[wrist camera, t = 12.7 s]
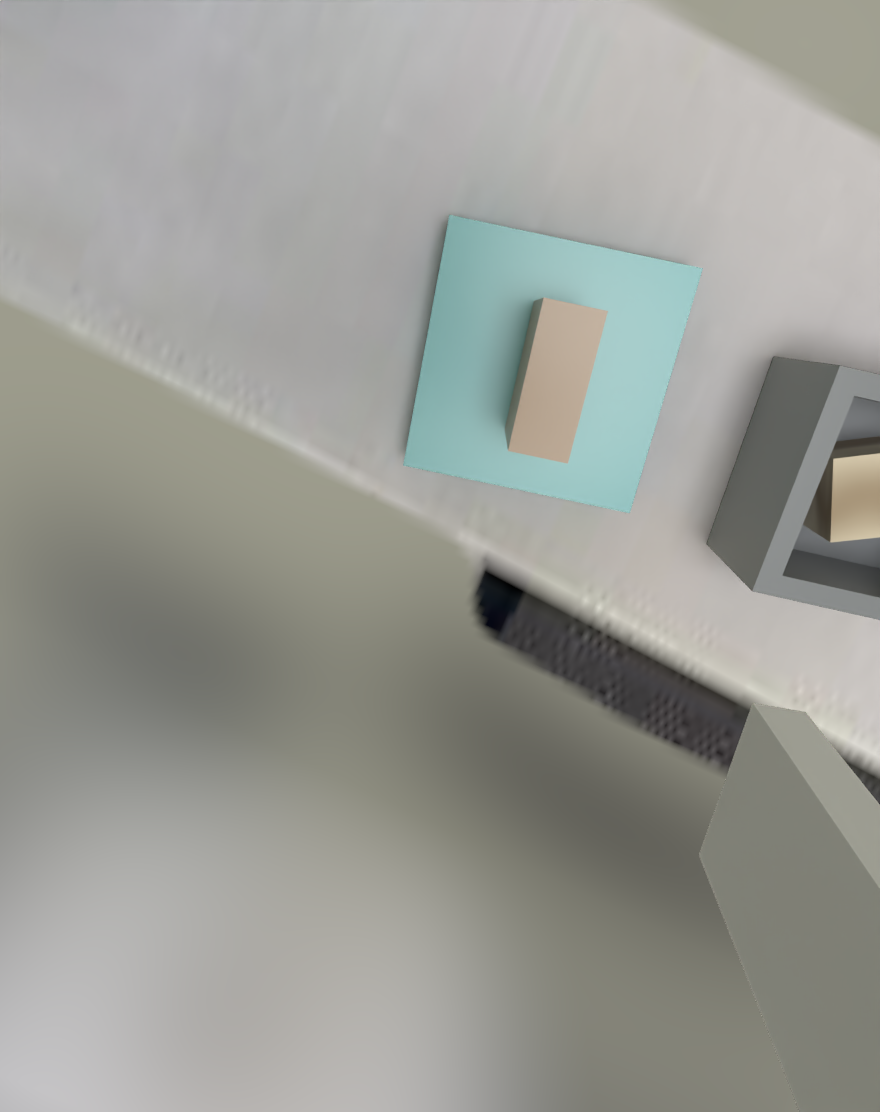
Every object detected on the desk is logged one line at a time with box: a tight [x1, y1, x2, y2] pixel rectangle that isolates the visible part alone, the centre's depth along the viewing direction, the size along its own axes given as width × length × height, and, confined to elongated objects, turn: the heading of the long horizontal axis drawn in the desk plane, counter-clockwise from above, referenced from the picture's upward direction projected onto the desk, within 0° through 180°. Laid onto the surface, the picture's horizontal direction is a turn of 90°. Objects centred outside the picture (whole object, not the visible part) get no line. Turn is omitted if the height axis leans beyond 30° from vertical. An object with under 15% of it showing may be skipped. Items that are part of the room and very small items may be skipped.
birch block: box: [803, 436, 880, 543], centre depth 34 cm, size 4×4×4 cm
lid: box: [403, 215, 703, 513], centre depth 32 cm, size 12×12×8 cm
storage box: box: [707, 357, 880, 620], centre depth 33 cm, size 10×10×7 cm
